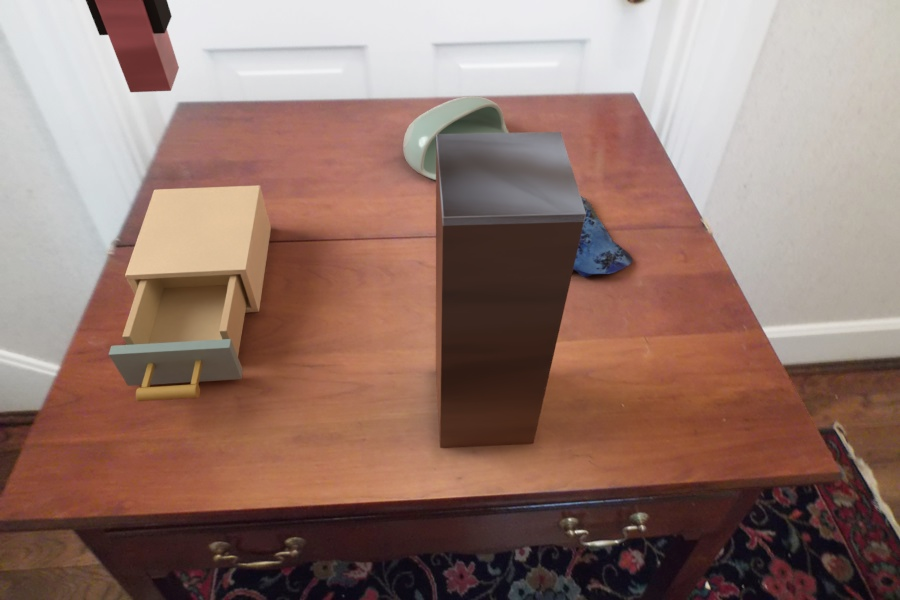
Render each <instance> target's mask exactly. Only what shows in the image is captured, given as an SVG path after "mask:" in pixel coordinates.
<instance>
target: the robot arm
mask: <svg viewBox="0 0 900 600" xmlns="http://www.w3.org/2000/svg"><path fill="white" fill-rule="evenodd" d="M85 2H86V5H87V8H88V10H89V12H90V15H91V17H92V20H93V22H94V25H95V28H96V31H97V32H98V35H99V36H108V33H107V30H106V28H105V25H104V23H103V20H102V17H101V15H100V12H99V10H98V7H97V4H96V2H95V0H85ZM143 2H144V5H145V8H146V11H147V14H148V17H149V20H150V23H151V27H152V30H153V33H154V34H159V33H165V31H166V29H167V30H168V26H169V24H170V22H171V20H172V18H173V17H172V13H171V9H170V6H169V3H168V0H143Z"/></svg>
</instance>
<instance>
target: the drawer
mask: <svg viewBox="0 0 900 600" xmlns="http://www.w3.org/2000/svg"><path fill="white" fill-rule="evenodd" d="M247 298H248V296H247V293H246V290H245V287H244V284H243V281H242V277H241V274H233V275H213V276H193V277H173V278H153V279H140V282H139V285H138V289H137V292H136V295H135V294H134V298H133V301H132V304H131V308H130V311H129V314H128V317H127V320H126V323H125V327H124V330H123V332H122V335H121V338H122V339H123V341H124V342H125V344H119V345H117V344H116V345H111V346H110V349H109V352H108V356H109V358H110V360H111V361H112V363H113V365H114V366H115V367H116V369H117V370H118V372H119V374H120V375H121V377H122V379H123V380H124V382H125V383H126V385H127V386H128V387H134V386H140V387H138V388H136V391H135V399H136V401H137V402H152V401H167V400H185V399H198V398H200V395H201V394H200V393H201V389H200V385H199V383H200V382H215V381H229V380H230V381H231V380H232V381H233V380H242V379H243V373H244V370H243V367H242V364H241V362H240V359H239V354H240V347H241V340H242V335H243V328H244V322H245V315H246V313H245V310H246V304H247ZM180 383H181V384H180ZM182 383H184V384H182ZM185 383H190V384H185ZM165 384H166V385H165ZM167 384H180V385H167ZM151 385H161V386H151Z"/></svg>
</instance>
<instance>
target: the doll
mask: <svg viewBox="0 0 900 600" xmlns="http://www.w3.org/2000/svg"><path fill="white" fill-rule="evenodd" d="M95 2H96V4H97V7H98V10H99V12H100V15H101V17H102V20H103V23H104V25H105V28H106V30H107V33H108V35H107V36H108V38H109V41H110V43H111V46H112V49H113V51H114V53H115V56H116V59H117V62H118V64H119V66H120V70H121V72H122V75H123V77H124V80H125V82H126V86H127V88H128V90H129V93H149V92H152V93H153V92H171V91H172V89H173V87H174V83H175V81H176V78H177V74H178V72H179V69H180V66H179V63H178V60H177V57H176V53H175V51H174V47H173V44H172V41H171V38H170V34H169V31H168V28H167V29H166V31H165V33H159V34H154V33H153V30H152V27H151V23H150V20H149V17H148V14H147V11H146V8H145V5H144V2H143V0H95Z"/></svg>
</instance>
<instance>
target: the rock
mask: <svg viewBox="0 0 900 600" xmlns="http://www.w3.org/2000/svg"><path fill="white" fill-rule="evenodd" d="M580 196H581V199H582V202H583V206H584V209H585V212H586V216H585V220H584V224H583V229H582V233H581V237H580V242H579V246H578V250H577V255H576V259H575V264H574V268H573V271H575V272H577V273H578V274H579V275H580V276H581V277H584V278H588V277H590V276H595V275H609V274H613V273H616V272H618V271H621V270H624V269H625V268H627V267H629V266H630V265H631V264H632V263H633V257H632V256H631V255H630V253H628V251H626V250H625V249H624V248H623V247H621V246H620V245H619V244H617V242H615V241H614V240H613V238H611V235H610V233H609V232H608V230H607V229H606V228H605V226H604V225H603V223H602V222H601V220H600V218H599V217H598V214H597V213H596V211H595V209H594V207H593V204H592V203H591V202H590V201H589V200H588V199H587V198H586V197H584V196H582V195H580Z"/></svg>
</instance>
